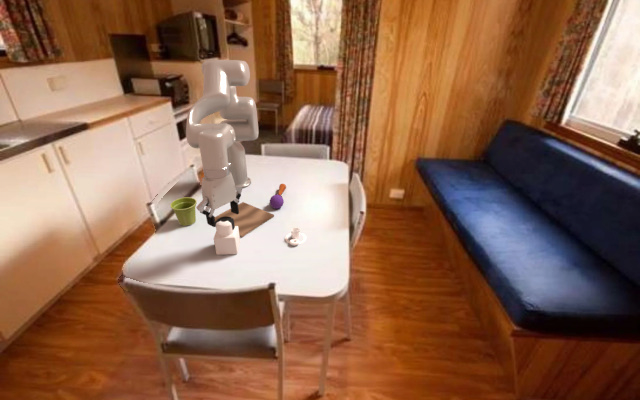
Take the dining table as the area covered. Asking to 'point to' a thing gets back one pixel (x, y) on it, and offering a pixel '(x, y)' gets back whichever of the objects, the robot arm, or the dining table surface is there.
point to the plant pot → (185, 210)
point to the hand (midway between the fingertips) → (224, 218)
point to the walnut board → (247, 218)
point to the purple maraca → (278, 198)
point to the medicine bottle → (226, 236)
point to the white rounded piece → (295, 237)
